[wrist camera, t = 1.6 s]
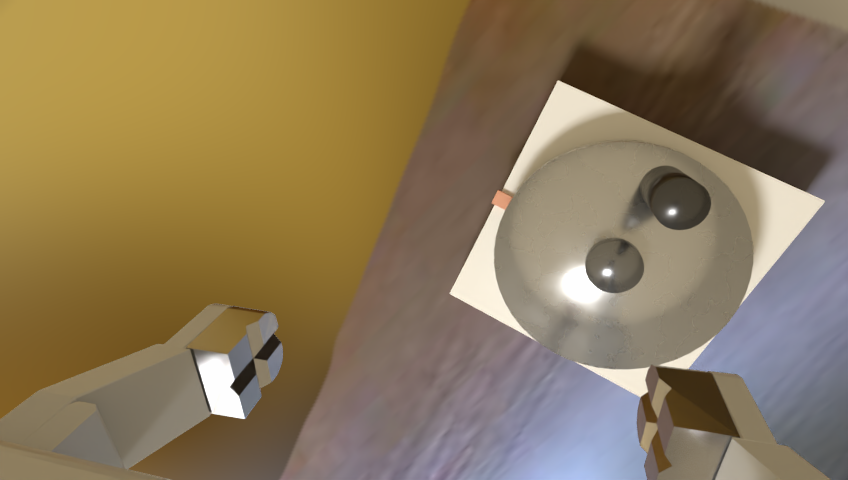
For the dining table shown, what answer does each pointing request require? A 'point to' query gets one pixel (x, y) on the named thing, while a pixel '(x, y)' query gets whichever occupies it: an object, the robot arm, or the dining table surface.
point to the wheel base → (599, 121)
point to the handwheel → (623, 254)
